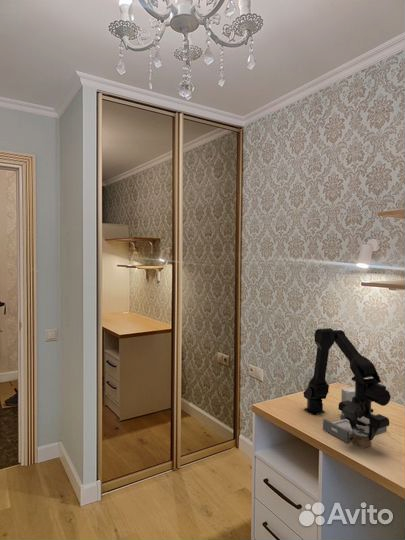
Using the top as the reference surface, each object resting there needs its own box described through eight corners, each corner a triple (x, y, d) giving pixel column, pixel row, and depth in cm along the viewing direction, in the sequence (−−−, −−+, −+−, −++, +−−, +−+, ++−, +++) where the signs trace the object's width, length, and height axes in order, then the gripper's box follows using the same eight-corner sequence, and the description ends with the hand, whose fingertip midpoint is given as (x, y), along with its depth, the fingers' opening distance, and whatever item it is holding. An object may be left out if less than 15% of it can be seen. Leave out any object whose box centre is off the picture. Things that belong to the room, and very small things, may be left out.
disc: (348, 431, 143) (348, 427, 143) (360, 427, 146) (360, 423, 146) (363, 440, 137) (363, 435, 137) (376, 435, 140) (376, 431, 140)
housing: (340, 424, 158) (340, 413, 158) (359, 418, 163) (360, 408, 163) (366, 437, 146) (366, 426, 146) (386, 431, 152) (386, 419, 152)
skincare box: (353, 414, 168) (354, 387, 167) (358, 418, 163) (359, 391, 163) (340, 414, 167) (341, 388, 167) (345, 419, 163) (345, 391, 162)
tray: (322, 429, 153) (322, 419, 153) (343, 422, 158) (343, 413, 158) (346, 442, 142) (346, 432, 142) (368, 435, 147) (368, 425, 147)
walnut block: (352, 442, 143) (353, 432, 142) (361, 440, 145) (361, 429, 144) (362, 448, 139) (363, 437, 138) (370, 445, 141) (371, 435, 140)
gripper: (328, 390, 145) (327, 429, 146) (369, 408, 129) (368, 452, 129) (348, 385, 150) (348, 423, 151) (390, 402, 134) (389, 445, 135)
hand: (362, 435), depth 141 cm, fingers open, 7 cm apart
